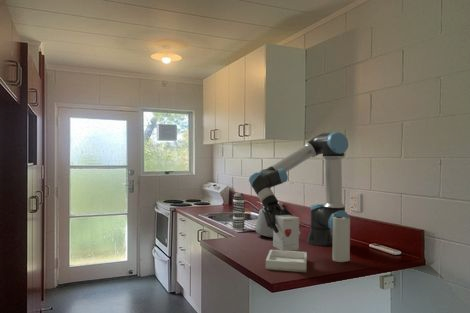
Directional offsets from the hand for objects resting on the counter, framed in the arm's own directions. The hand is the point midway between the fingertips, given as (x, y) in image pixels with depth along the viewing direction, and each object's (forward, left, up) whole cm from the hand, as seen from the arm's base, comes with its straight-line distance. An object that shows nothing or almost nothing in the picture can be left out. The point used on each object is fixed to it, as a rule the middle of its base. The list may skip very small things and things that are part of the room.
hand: (290, 236), depth 157 cm
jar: (+16, -56, -14) cm, 60 cm away
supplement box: (+2, -2, -6) cm, 7 cm away
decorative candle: (+40, -73, -14) cm, 84 cm away
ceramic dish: (+2, -2, -14) cm, 14 cm away
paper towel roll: (-23, -14, -14) cm, 31 cm away
